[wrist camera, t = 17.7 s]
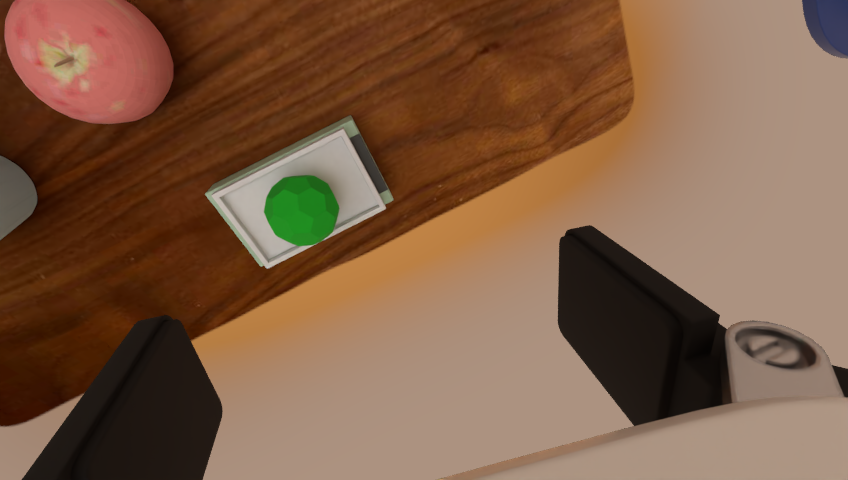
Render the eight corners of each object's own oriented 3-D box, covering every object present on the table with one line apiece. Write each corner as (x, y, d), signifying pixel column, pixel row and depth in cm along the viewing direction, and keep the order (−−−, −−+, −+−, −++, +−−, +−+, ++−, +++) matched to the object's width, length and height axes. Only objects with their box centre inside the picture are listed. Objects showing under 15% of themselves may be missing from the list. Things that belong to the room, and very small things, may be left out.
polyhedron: (348, 215, 32) (351, 241, 28) (289, 238, 32) (283, 268, 27) (321, 156, 30) (319, 174, 25) (257, 181, 29) (244, 203, 25)
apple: (180, 128, 30) (133, 153, 23) (58, 92, 27) (-37, 106, 20) (197, 21, 27) (151, 10, 20) (65, -30, 25) (-41, -62, 18)
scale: (350, 114, 32) (352, 122, 28) (390, 191, 35) (396, 205, 32) (212, 184, 32) (199, 199, 28) (264, 254, 35) (258, 274, 32)
